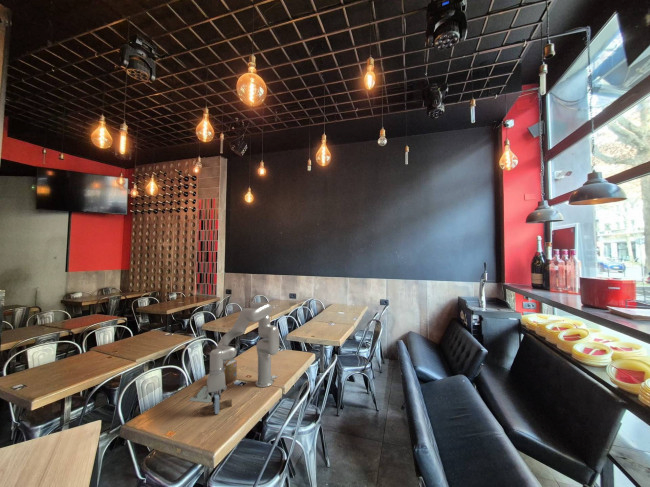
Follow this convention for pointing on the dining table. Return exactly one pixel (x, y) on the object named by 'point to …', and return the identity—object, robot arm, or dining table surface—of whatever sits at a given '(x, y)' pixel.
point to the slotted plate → (216, 402)
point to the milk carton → (230, 371)
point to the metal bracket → (201, 396)
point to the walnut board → (210, 408)
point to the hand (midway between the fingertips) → (215, 401)
